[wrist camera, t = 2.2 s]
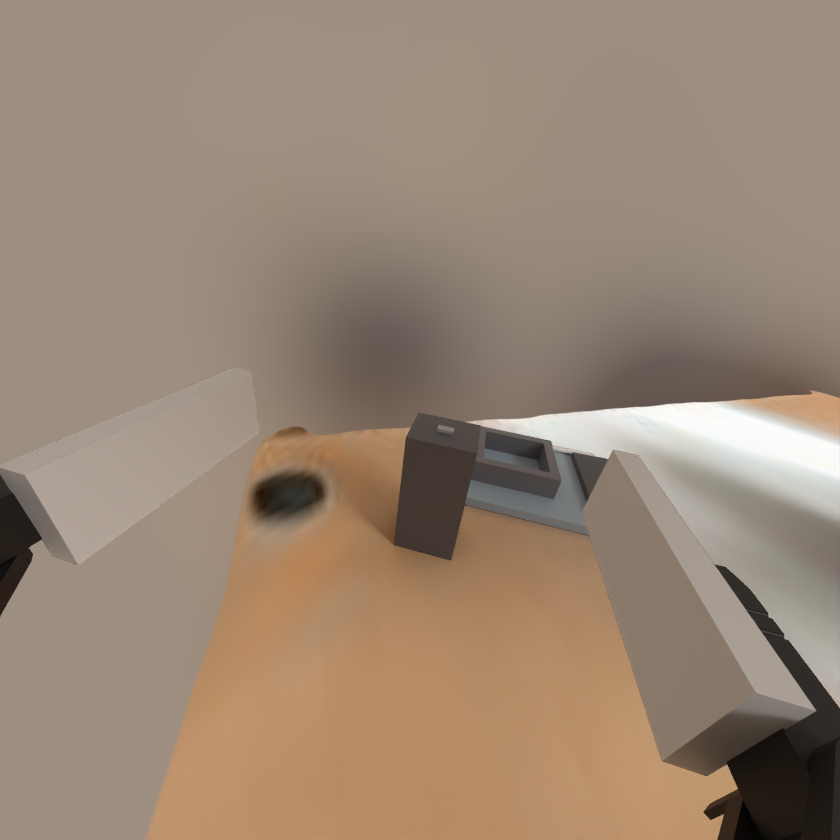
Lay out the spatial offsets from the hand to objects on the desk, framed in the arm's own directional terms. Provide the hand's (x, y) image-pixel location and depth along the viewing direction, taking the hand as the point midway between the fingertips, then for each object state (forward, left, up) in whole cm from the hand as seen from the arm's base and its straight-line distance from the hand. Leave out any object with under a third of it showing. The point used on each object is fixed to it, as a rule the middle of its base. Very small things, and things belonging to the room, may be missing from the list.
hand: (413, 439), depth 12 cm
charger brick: (0, -11, -16) cm, 20 cm away
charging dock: (-13, -23, -16) cm, 31 cm away
